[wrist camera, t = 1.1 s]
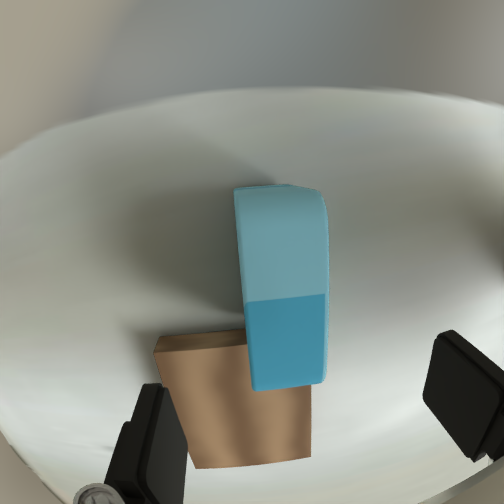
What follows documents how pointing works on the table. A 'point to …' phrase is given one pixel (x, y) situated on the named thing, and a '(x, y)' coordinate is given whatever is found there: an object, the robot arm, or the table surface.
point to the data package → (284, 283)
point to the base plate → (231, 403)
